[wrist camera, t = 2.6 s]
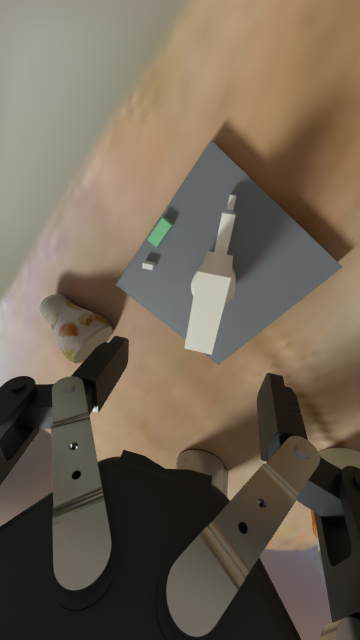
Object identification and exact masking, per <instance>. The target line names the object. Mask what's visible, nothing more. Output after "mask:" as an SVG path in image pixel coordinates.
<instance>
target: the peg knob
mask: <svg viewBox="0 0 360 640" xmlns="http://www.w3.org/2000/svg"><path fill="white" fill-rule="evenodd" d="M235 216H236V214H234V213H228V212H222V216H221V221H220V226H219V231H218V235H217V240H216V245H215V250H214V252H210V251H207V253H206V255H205V257H204V259H203V262H202V264H201V265H200V266H199V267H198V269H197V271H196V273H195V275H194V277H193V279H192V282H191V291H192V294H193V302H192V308H191V313H190V319H189V325H188V331H187V336H186V342H185V349H190V350H194V351H198V352H202V353H206V354H211V355H212V352H213V348H214V344H215V340H216V336H217V332H218V328H219V324H220V320H221V316H222V312H223V308H224V305H226V304H227V303H228V302H230V300H231V299H232V298H233V296H234V293H235V285H236V274H235V270H234V268H233V267H232V264H233V256H231V255H227V251H228V247H229V242H230V238H231V234H232V229H233V225H234V221H235Z"/></svg>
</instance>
